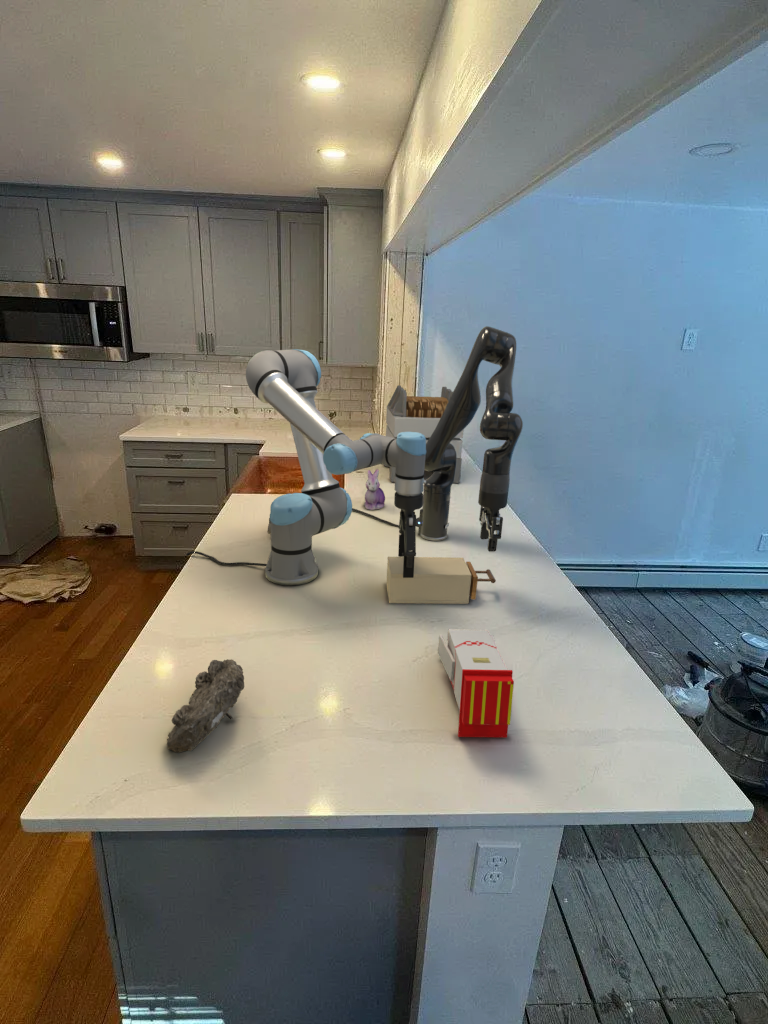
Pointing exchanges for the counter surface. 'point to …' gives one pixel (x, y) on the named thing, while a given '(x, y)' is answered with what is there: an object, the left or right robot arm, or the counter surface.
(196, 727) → the fossil
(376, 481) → the figurine
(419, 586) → the cabinet
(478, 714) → the toy
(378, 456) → the left robot arm
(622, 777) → the counter surface
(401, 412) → the transformer
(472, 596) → the drawer
